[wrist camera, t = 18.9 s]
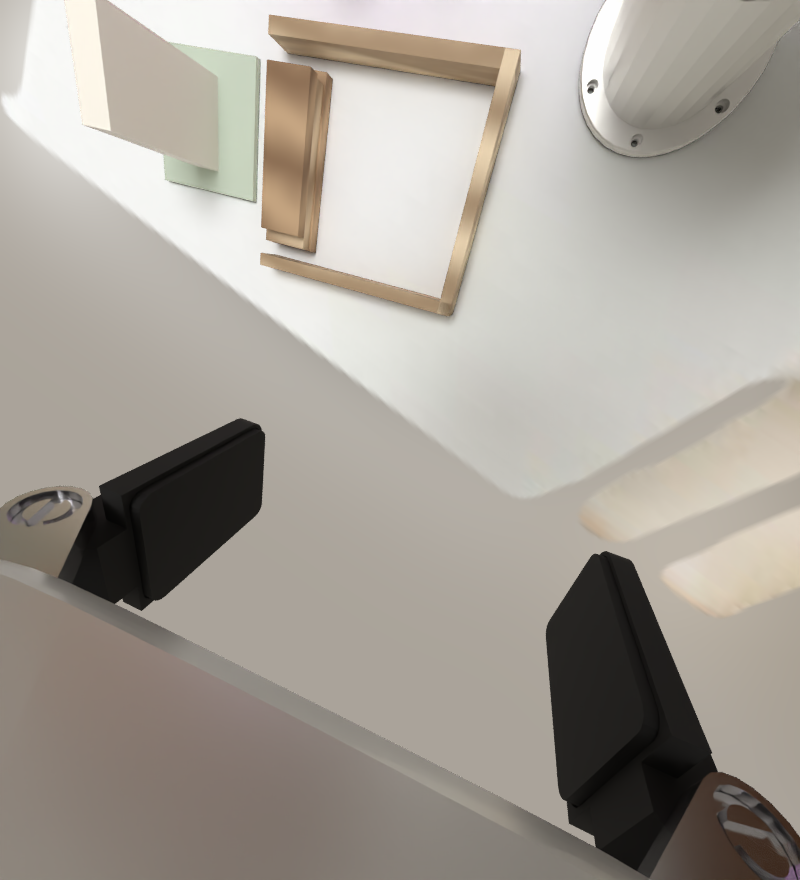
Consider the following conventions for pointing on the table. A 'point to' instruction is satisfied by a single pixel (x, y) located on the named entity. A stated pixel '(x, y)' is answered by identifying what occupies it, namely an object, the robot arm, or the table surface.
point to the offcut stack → (294, 152)
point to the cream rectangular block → (141, 85)
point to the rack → (427, 60)
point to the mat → (227, 126)
